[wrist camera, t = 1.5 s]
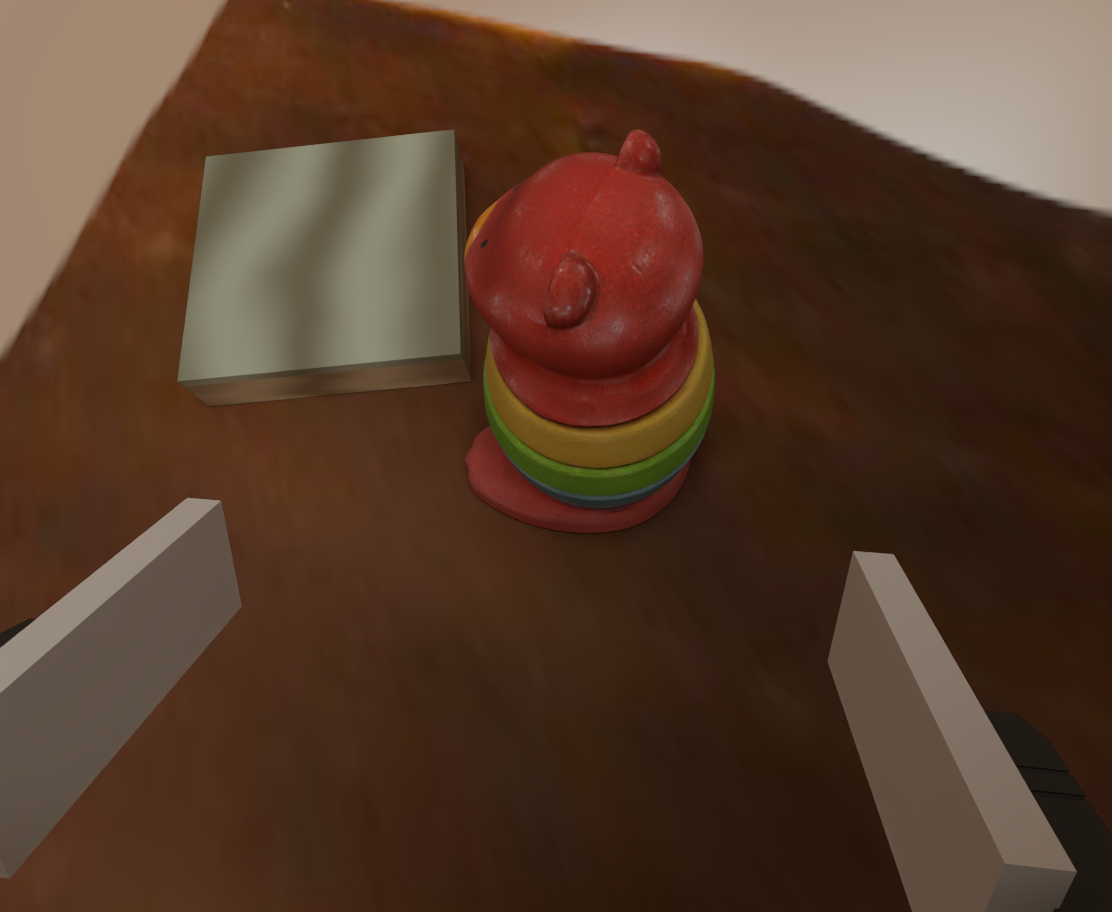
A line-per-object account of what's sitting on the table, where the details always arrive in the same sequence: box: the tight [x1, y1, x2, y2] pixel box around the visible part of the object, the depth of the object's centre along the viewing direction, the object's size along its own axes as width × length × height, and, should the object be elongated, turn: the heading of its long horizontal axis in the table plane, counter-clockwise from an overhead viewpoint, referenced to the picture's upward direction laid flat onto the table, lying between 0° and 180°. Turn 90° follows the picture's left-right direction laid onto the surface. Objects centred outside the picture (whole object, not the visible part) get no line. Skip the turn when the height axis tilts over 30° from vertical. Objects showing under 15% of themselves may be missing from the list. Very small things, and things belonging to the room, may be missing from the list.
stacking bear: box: [464, 130, 715, 533], centre depth 27 cm, size 11×10×18 cm
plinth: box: [178, 130, 472, 407], centre depth 39 cm, size 14×14×3 cm
